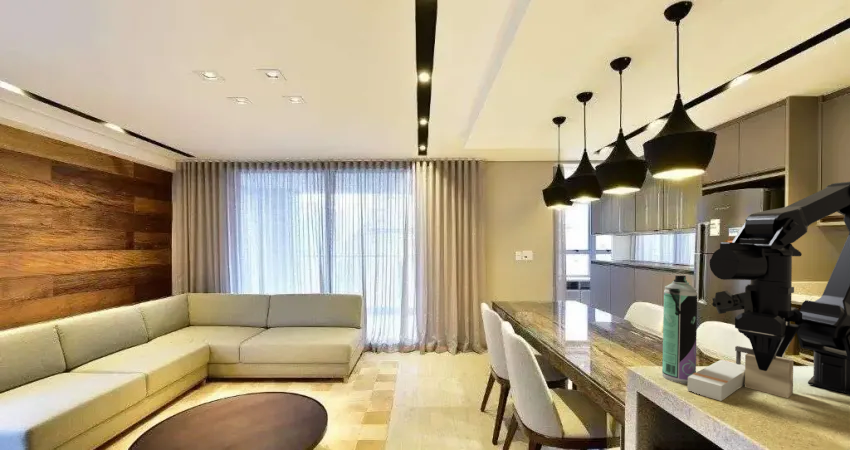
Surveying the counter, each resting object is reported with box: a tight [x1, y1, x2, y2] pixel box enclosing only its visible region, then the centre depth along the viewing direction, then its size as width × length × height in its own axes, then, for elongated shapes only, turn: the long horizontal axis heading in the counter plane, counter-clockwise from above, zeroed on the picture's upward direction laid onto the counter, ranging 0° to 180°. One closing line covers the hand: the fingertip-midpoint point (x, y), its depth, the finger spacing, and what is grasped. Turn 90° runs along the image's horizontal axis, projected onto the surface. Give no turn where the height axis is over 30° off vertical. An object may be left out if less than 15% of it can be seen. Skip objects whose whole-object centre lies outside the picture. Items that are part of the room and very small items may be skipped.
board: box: [687, 359, 745, 402], centre depth 74 cm, size 18×5×3 cm, turn 128°
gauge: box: [734, 345, 794, 399], centre depth 73 cm, size 4×8×7 cm, turn 38°
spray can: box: [661, 275, 698, 384], centre depth 77 cm, size 6×6×20 cm
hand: (769, 365), depth 73 cm, fingers open, 9 cm apart
